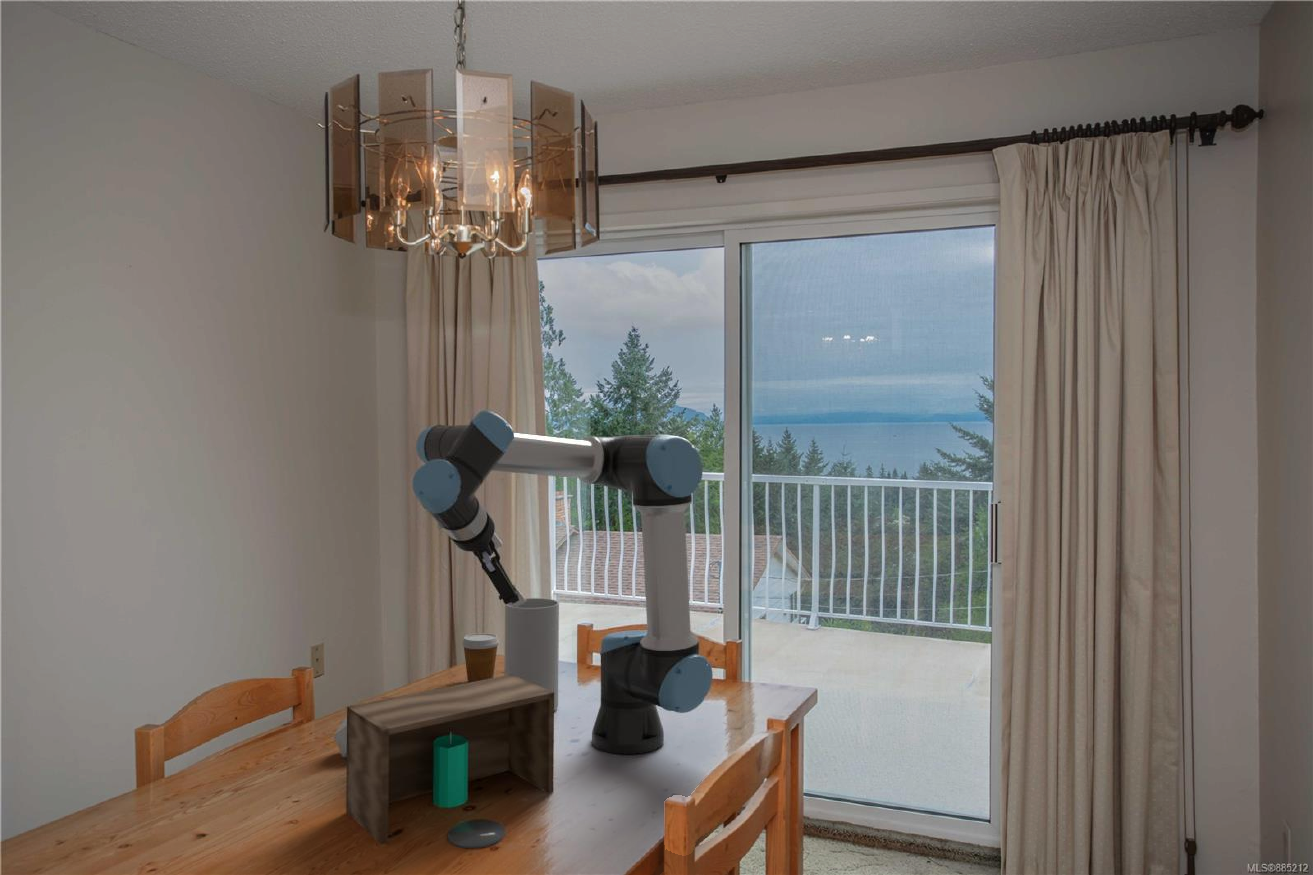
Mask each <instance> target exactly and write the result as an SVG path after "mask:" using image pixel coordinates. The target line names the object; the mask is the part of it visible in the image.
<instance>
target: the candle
mask: <svg viewBox="0 0 1313 875" xmlns="http://www.w3.org/2000/svg"><path fill="white" fill-rule="evenodd" d="M468 784H469V781H468V740H467V739H466V738H464V737H462V736H459V735H455V734H451V732H450V735H447V736H442V737H439V738H436V739H435V740H434V741H433V791H432V802H433V805H434V806H437V807H439V808H454V807H455V808H456V807H458V806H461V805H464V804H465V803H466V802H467V801H468V799H469V798H468V796H469V793H468V790H469V789H468V787H469V786H468Z"/></svg>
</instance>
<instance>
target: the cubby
mask: <svg viewBox="0 0 1313 875" xmlns="http://www.w3.org/2000/svg"><path fill="white" fill-rule="evenodd" d="M346 716H347V757H346V770H345V771H346V772H345V773H346V782H345V785H346V786H345V788H346V790H345V793H346V794H345V797H346V798H345V808H346V809H345V813H346V814H347V815H348V816H349V817H350V818H352V819H353V820H354V821H355V822H356V823H357V824H358V825H360V826H361V827H362V828H363V829H364V830H365V831H366V832H367V833H369V834H370V836H372V838H374V839H375V840H376V841H377V842H379V843H380V844H381V845H386V844H389V804H391V803H394V802H398V801H403V800H406V799H409V798H413V797H416V796H420V795H425V794H427V793H433V741H434V740H435V739H436V738H439V737H442V736H447V735H450V732H451V734H455V735H459V736H462V737H464V738H466V739H467V740H468V782H471V781H475V780H478V779H482V778H485V777H489V776H493V775H495V774H500V773H504V772H507V771H509V772H511V773H513V774H514V775H517V777H519V778H521V779H523V780H524V781H526V782H528V783H530V784H532V785H533V786H535V787H536V788H539V789H540V790H542V791H544V792H546V793H547V794H551V793H554V772H555V770H554V766H555V765H554V763H555V762H554V760H555V759H554V758H555V757H554V752H555V748H554V747H555V744H554V743H555V711H554V692H552V691H550V690H547V689H545V688H542V687H540V686H538V685H535V684H533V683H530V682H528V681H526V680H523V679H521V678H518V677H516V676H513V675H506V676H505V675H503V676H502V675H501V676H498V677H497V676H496V677H493V678H491V679H486V680H481V681H475V682H470V683H468V682H467V683H466V682H464V683H460V684H455V685H451V686H446V687H442V688H441V687H440V688H435V689H430V690H425V691H420V692H415V693H410V694H406V695H399V696H395V697H390V698H384V699H379V700H373V701H369V702H364V703H358V704H354V705H349V706H347V707H346Z"/></svg>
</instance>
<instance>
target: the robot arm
mask: <svg viewBox="0 0 1313 875" xmlns="http://www.w3.org/2000/svg"><path fill="white" fill-rule="evenodd" d="M415 449H416V453H417V455H418V458H419V459H420V460H421V461H422V462H423V463H424V464H423V465H421V466H420V467H419V468H418V469H417V470H416V471H415V473H414V475H413V478H412V482H411V483H412V491H413V493H414V495H415V497H416V498H417V500H418V502H419V503H420V505H421V506H422V507H423V508H424V509H425V510H426V511H427V512H428V513H429V514H430V515H431V517H432V518H433V519H434V520H435V521H436V522H437V524H436V527H437V528H438V529H439V530H441V529H443V530H444V532H445V533H446V534H447V535H448V536H449V538H450V539H451V540H452V542H453V544H455V545H456V546H457V547H458V548H459V549H460V550H462V551H464V552H472V553H473V554H474V556H475V557H476V558H477V559H478V561H479V563H480V564H481V568H482V570H483V571H484V572H485V574H486V576H487V577H488V578H489V580H490V581H491V583H492V584H493V586H494V588H495V589H496V591H497V593H498V594H499V595H498V600H500V601H501V600H503V601H502V602H503V604H504V605H505V604H506V605H507V604H510V605H511V606H512V607H513V608H515V607H517V606H519V605H521V604H523V603H525V602H527V601H526V597H525V596H524V594H522V593H521V591H520V590H519V588H518V587H517V586H516V585H515V584H513V582H512V581H511V579H510V577H509V575H508V573H507V572H506V570H505V568H504V567H503V565H502V563H501V561H500V560H501V556H500V553H499V551H498V550H497V549H499V548H501V547H503V546H504V545H503V542H502V541H501V539H500V537H498V535H497V534H496V533H495V529H496V527H495V523H494V520H493V518H492V517H491V516H490V514H489V513H488V512H487V510H486V508H485V507H484V506H483V504H482V503H481V502H480V500H479V498H477V496H476V495H475V494H476V493H477V492H478V490H479V488H480V487H481V486H482V485H483V483H484V481H485V480H486V479H487V477H488V476H489V475H490V473H491V472H503V473H514V474H526V475H527V474H528V475H536V476H537V475H539V476H550V477H551V476H553V477H561V478H562V477H564V478H575V479H576V478H577V479H579V481H580V482H581V483H583V484H589V485H596V486H597V485H599V486H602V487H603V486H604V487H606V488H607V487H608V488H612V489H617V490H620V491H624V492H630V493H632V506H633V507H634V508H635V509H636V510H637V511H638V512H639V513H640V515H641V532H642V535H641V536H642V553H643V556H642V557H643V572H644V573H643V574H644V575H643V576H644V589H645V590H644V593H645V609H646V610H645V611H646V612H645V613H646V614H645V615H646V627H647V628H646V629H638V630H637V629H636V630H623V631H617V632H612V633H608V634H606V635H604V636H603V637H602V639H601V646H600V652H599V655H600V706H599V709H598V711H597V715H596V718H595V721H594V725H593V727H592V731H591V744H592V746H594V747H595V748H596V749H598V750H600V751H602V752H605V753H610V754H620V755H637V754H636V753H639V754H644V753H643V752H645V753H648V752H647V751H649V752H653V751H655V750H658V749H659V748H660V746H661V747H662V746H663V745H664V743H665V742H664V740H665V738H664V736H665V731H664V728H663V725H662V722H661V719H660V715H659V711H658V709H657V707H660V708H662V709H663V710H665V711H668V712H675V713H678V714H684V713H685V714H686V713H689V712H692V711H694V710H695V709H697V708H698V707H699V706H701V704H703V702H704V700H705V698H706V697H708V694H709V692H710V690H711V686H712V683H713V675H714V674H713V669H712V665H711V662H709V660H708V659H707V658H706V657H705V656H704V655H701V654H700V640H699V639H700V638H699V637H698V636H697V635H696V634H695V633H694V632H693V631H692V630H691V612H690V594H689V593H690V590H689V575H688V574H689V569H688V552H687V532H686V531H687V530H686V511H687V509H688V508H689V507H690V505H691V504H692V503H693V500H692V498H693V497H692V496H693V495H692V494H693V493H694V492H695V491H696V490H697V489H698V488H699V484H700V483H701V482H702V478H703V462H702V457H701V456H700V453H699V451H698V449H697V448H696V446H694V445H693V444H692V443H691V442H690V440H688V439H686V438H684V437H681V436H677V435H670V434H664V433H663V434H645V435H644V434H643V435H641V434H629V435H618V436H616V435H615V436H603V437H602V436H601V437H600V436H593V435H592V436H591V435H590V436H586V437H584V438H583V439H573V438H565V437H564V438H563V437H555V436H545V435H536V434H528V433H518V432H515V430H514V429H513V428H512V426H511V424H509V422H508V421H507V420H505V419H504V418H503V417H501V416H500V415H499V414H497V413H495V412H493V411H490V410H481V411H479V412H478V413H477V414H476V415H475V416H474V417H473V418H471V420H470V422H469V424H462V425H461V424H458V425H457V424H456V425H445V424H444V425H443V424H436V425H432V426H429V427H426V428H425V429H423V430H422V431H421V432H420V434H419V435H418V436H417V440H416V447H415ZM493 554H494V556H493V557H491V556H492V555H493ZM663 742H664V743H663ZM657 748H658V749H657Z"/></svg>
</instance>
